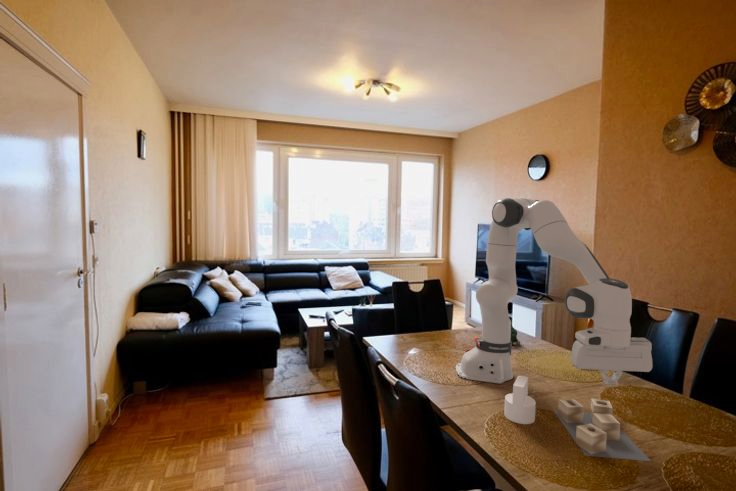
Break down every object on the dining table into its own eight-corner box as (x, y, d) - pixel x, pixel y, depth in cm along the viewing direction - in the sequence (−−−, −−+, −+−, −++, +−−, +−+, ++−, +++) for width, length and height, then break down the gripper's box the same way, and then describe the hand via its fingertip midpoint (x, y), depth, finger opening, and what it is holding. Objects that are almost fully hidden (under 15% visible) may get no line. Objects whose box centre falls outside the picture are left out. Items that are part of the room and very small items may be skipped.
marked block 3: (591, 454, 99) (592, 435, 99) (575, 443, 104) (576, 425, 104) (605, 451, 101) (606, 432, 100) (589, 440, 105) (590, 422, 105)
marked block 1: (567, 423, 114) (568, 406, 114) (558, 414, 119) (558, 398, 119) (583, 422, 115) (584, 406, 114) (573, 414, 120) (574, 398, 119)
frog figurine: (484, 337, 200) (484, 316, 199) (516, 337, 201) (517, 315, 201) (498, 349, 182) (499, 325, 181) (533, 348, 184) (534, 325, 183)
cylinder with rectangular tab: (532, 429, 112) (534, 390, 111) (501, 420, 117) (502, 382, 116) (536, 416, 120) (538, 379, 119) (507, 408, 124) (508, 373, 123)
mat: (585, 457, 99) (585, 455, 99) (552, 411, 123) (552, 409, 122) (651, 463, 97) (651, 461, 97) (605, 415, 120) (605, 413, 120)
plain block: (600, 439, 106) (601, 422, 106) (592, 429, 111) (593, 413, 111) (619, 440, 105) (620, 423, 105) (610, 430, 110) (611, 414, 110)
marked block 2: (592, 420, 116) (593, 404, 116) (590, 413, 121) (591, 397, 120) (611, 424, 114) (612, 407, 114) (608, 416, 119) (609, 400, 118)
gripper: (644, 334, 108) (643, 381, 109) (569, 332, 111) (568, 378, 111) (658, 341, 102) (656, 391, 102) (578, 338, 104) (577, 387, 105)
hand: (610, 384), depth 107 cm, fingers closed
